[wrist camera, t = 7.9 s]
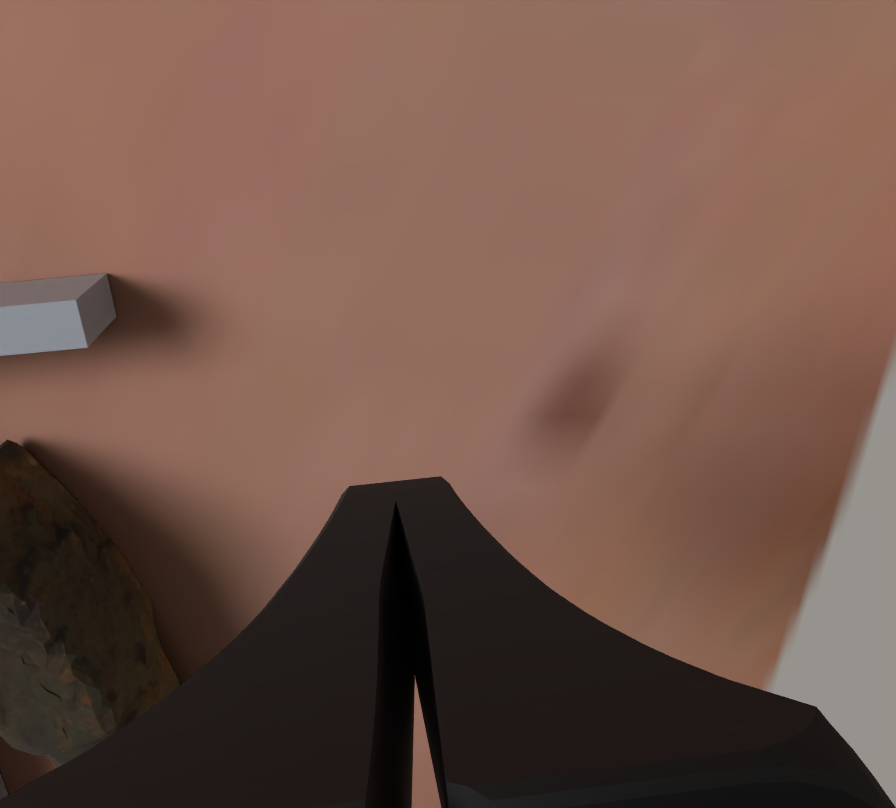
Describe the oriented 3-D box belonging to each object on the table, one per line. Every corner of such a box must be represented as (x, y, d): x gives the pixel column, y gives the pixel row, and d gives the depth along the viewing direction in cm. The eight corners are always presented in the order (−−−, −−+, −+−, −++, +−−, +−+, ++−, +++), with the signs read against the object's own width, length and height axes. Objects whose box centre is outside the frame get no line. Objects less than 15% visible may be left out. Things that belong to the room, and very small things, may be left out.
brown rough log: (343, 922, 28) (341, 1079, 24) (224, 953, 28) (200, 1116, 24) (127, 402, 21) (68, 493, 16) (-34, 443, 21) (-137, 546, 16)
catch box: (55, 1013, 28) (31, 1089, 26) (-221, 303, 19) (-293, 334, 17) (271, 983, 28) (264, 1055, 26) (106, 273, 19) (76, 300, 17)
